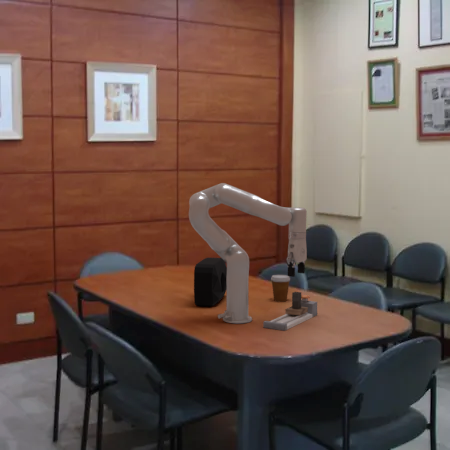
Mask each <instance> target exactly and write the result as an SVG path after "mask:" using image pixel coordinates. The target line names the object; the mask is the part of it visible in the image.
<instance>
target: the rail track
mask: <svg viewBox="0 0 450 450" xmlns="http://www.w3.org/2000/svg"><path fill="white" fill-rule="evenodd" d="M301 307H308V312H306V313H304V314H302V315H300V316H299V315H292V314H283V315H281V316H278V317H276V318H274V319H272V320H270V321H269V320H264V321H263V323H262V324H263V327H262V328H264V329H270V330H275V331H276V330H278V331H284V332H285V331H287V330H290V329H292V328H293V327H295V326H298V325H299V324H301V323H303V322H306V321H308V320H309V319H312V318H314V317H317V316H318V301H314V300H313V301H312V300H308V301H306V302H304V301H302V299H301Z"/></svg>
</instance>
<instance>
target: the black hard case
mask: <svg viewBox="0 0 450 450" xmlns="http://www.w3.org/2000/svg"><path fill="white" fill-rule="evenodd" d="M226 277H227V263H226V262H225V261H224V260H223V259H222V258H221V257H205V258H203V259H202V260H200V261H199V262H198V263H196V264H195V265H194V272H193V297H194V298H193V300H194V305H195V306H198V307H199V306H205V307H214V306H215V305H217V304H218V303H219V302H220V301H221V300H222V299H223V297H224V296H225V295H226V293H227V285H226Z"/></svg>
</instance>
